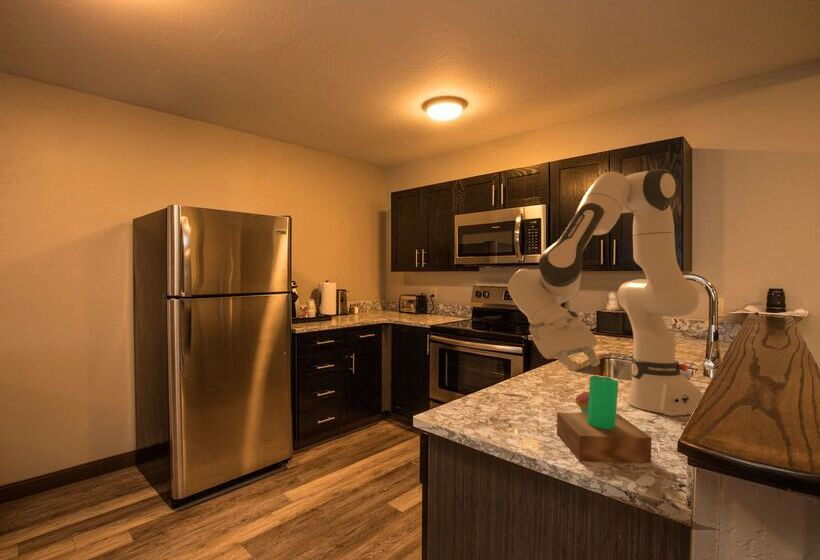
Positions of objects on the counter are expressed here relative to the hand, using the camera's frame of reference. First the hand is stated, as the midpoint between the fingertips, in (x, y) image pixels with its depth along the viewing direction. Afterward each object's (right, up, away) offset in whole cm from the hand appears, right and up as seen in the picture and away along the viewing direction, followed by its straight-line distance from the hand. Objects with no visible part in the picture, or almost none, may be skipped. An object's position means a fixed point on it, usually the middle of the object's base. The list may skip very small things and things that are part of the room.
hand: (586, 367), depth 97 cm
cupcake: (+9, -18, +17) cm, 27 cm away
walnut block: (+2, -19, -2) cm, 19 cm away
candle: (+2, -13, -3) cm, 13 cm away
